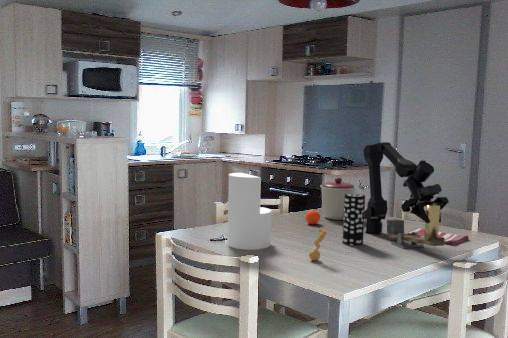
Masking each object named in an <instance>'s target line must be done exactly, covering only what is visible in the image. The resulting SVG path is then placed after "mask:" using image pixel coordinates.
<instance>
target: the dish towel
mask: <svg viewBox="0 0 508 338" xmlns="http://www.w3.org/2000/svg"><path fill="white" fill-rule="evenodd" d="M412 232H416V233H418V237H424V232H425V228H418V227H417V228H415V229H411V230H409V231H407V232H405V231H404V234H408V235H412ZM438 237H444V245H446V246H447V245H448V246H452V247H454V246H456V245H458V244H462V243H464V242H466V241H468V240H469V239H470V237H469V235H461V234H460V235H459V234H452V233H448V232H447V233H446V232H443V231H442V232H441V231H438Z"/></svg>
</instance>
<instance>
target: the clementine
mask: <svg viewBox="0 0 508 338" xmlns="http://www.w3.org/2000/svg"><path fill="white" fill-rule="evenodd" d="M305 219H306V222H307V223H308V224H310V225H316V224H318V223H319V222H320V220H321V214H320V213H319V212H318V211H317V210H315V209H308V210H307V211H306V213H305Z"/></svg>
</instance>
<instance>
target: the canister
mask: <svg viewBox="0 0 508 338" xmlns="http://www.w3.org/2000/svg"><path fill="white" fill-rule="evenodd" d="M342 181H343V179H342V177H338V176H337V177H335V178H334V181H328V182H327V181H326V182H324V183H322V184H320V185H319V188H321V201H322V202H321V203H322V204H321V205H322V213H323V216H324V217H325V218H326V219H328V220H335V221H342V220H344V195H345V194H355V191H356V189H357V186H355V185H354V184H352V183H349V182H344V181H343V182H342Z"/></svg>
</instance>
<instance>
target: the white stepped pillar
mask: <svg viewBox="0 0 508 338" xmlns="http://www.w3.org/2000/svg"><path fill="white" fill-rule="evenodd" d="M261 181H262V177H261V176H256V175H252V174H250V173H246V172H245V173H244V172H230V173H228V196H227V197H228V198H227V199H228V200H227V201H228V202H227V208H228V209H227V245H228V246H229V247H230V248H233V249H239V250H251V251H253V250H263V249H267V248H269V247H271V242H272V240H271V239H272V238H271V237H272V210H271V209H270V208H267V207H263V206H262V207H261V191H262V190H261V186H262V184H261Z"/></svg>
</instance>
